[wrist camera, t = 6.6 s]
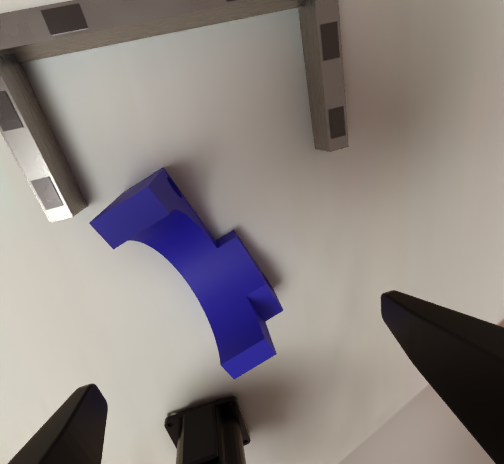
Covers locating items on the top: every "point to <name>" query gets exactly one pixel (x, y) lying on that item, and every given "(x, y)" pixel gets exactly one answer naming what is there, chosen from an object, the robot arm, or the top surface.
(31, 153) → the rail bay
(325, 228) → the top surface
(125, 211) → the cable clip
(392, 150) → the top surface
